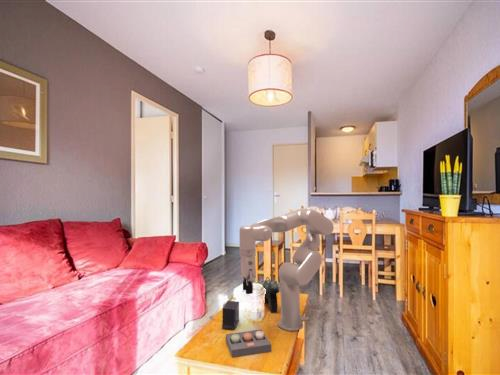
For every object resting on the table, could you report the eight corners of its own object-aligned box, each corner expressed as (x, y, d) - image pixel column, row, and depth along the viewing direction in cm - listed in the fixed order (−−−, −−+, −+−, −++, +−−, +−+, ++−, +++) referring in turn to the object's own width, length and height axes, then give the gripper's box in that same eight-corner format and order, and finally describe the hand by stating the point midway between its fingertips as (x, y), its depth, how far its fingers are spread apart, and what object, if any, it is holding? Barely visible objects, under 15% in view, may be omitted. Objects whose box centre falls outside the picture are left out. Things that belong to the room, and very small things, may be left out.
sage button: (238, 339, 124) (238, 333, 124) (240, 343, 120) (240, 337, 121) (230, 340, 123) (230, 334, 123) (232, 344, 120) (232, 338, 120)
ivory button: (262, 336, 127) (262, 330, 127) (264, 339, 123) (264, 334, 123) (254, 337, 126) (254, 331, 126) (256, 341, 122) (256, 335, 123)
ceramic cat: (280, 313, 157) (279, 277, 158) (269, 314, 156) (268, 278, 157) (269, 301, 177) (269, 269, 178) (259, 302, 175) (259, 269, 176)
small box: (234, 330, 138) (234, 308, 138) (221, 329, 139) (221, 307, 139) (239, 321, 148) (239, 301, 148) (227, 320, 149) (227, 300, 150)
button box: (261, 335, 132) (261, 328, 132) (271, 351, 119) (271, 343, 119) (225, 340, 128) (225, 333, 128) (231, 357, 114) (231, 349, 114)
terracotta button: (250, 337, 125) (250, 332, 125) (252, 341, 122) (252, 335, 122) (242, 338, 124) (242, 333, 125) (244, 342, 121) (244, 336, 121)
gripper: (260, 255, 125) (260, 297, 124) (250, 248, 141) (250, 285, 140) (244, 256, 123) (244, 298, 122) (235, 249, 139) (236, 286, 138)
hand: (247, 291), depth 131 cm, fingers open, 4 cm apart
